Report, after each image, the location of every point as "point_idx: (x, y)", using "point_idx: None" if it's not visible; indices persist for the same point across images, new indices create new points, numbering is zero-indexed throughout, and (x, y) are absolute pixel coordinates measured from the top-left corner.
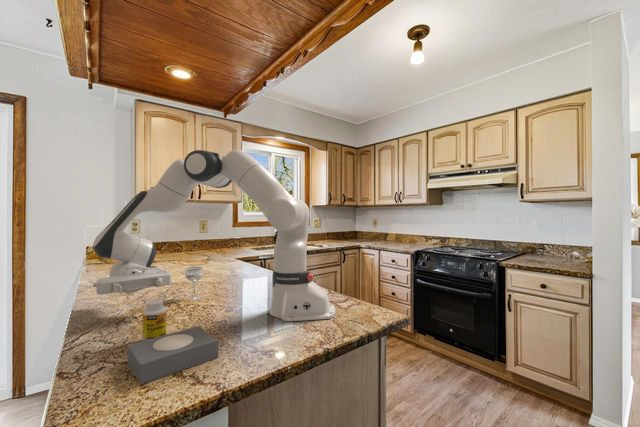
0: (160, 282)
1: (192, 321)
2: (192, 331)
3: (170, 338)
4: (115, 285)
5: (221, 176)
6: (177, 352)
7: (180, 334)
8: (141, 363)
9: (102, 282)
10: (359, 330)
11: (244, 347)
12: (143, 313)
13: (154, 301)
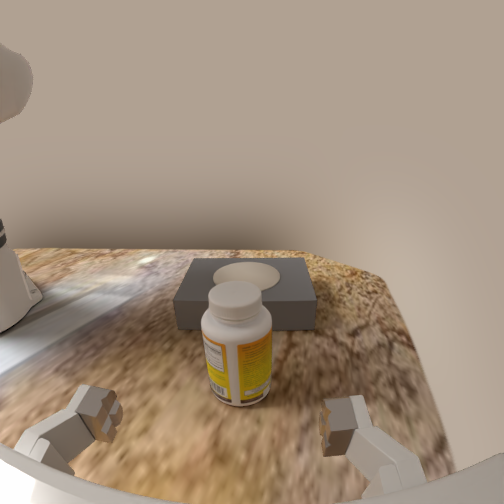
0: (93, 387)
1: None
2: (197, 290)
3: None
4: (397, 445)
5: None
6: (255, 258)
7: None
8: (302, 258)
9: (501, 458)
10: (56, 252)
11: (152, 283)
12: (271, 317)
13: (233, 296)
